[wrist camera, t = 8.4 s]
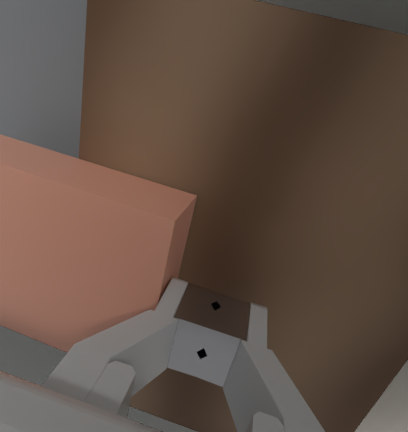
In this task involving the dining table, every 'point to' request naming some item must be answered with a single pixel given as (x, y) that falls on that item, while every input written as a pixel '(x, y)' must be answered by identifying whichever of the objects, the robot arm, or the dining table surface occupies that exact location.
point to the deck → (267, 181)
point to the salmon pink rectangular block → (82, 243)
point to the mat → (42, 72)
